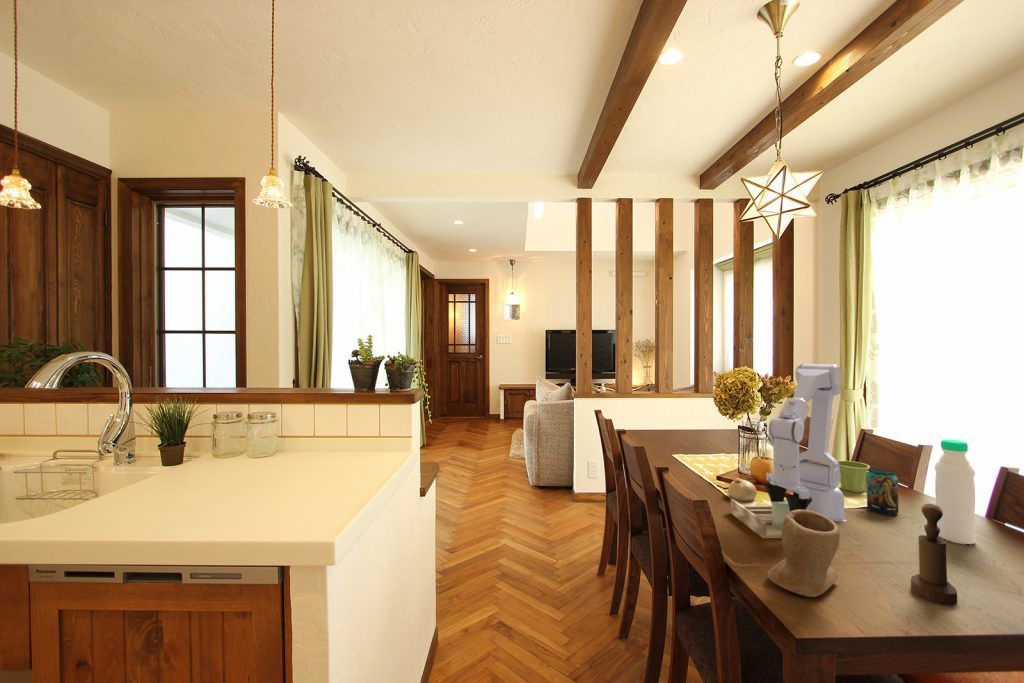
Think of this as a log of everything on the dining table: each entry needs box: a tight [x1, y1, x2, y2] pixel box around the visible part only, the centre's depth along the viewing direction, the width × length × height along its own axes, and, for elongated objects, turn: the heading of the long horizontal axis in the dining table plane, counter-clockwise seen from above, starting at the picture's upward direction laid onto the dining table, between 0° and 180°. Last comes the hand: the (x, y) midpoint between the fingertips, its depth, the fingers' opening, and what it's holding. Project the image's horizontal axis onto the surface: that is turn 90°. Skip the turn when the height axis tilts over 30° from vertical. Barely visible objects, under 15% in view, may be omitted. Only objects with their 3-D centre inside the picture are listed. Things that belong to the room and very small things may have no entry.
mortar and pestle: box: [910, 503, 958, 606], centre depth 84 cm, size 7×6×18 cm
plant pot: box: [837, 460, 871, 493], centre depth 145 cm, size 9×9×9 cm
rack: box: [730, 498, 787, 539], centre depth 117 cm, size 16×16×5 cm
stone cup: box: [767, 510, 841, 598], centre depth 89 cm, size 15×12×15 cm
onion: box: [727, 477, 758, 502], centre depth 137 cm, size 8×8×7 cm
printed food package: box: [866, 467, 899, 516], centre depth 126 cm, size 7×7×12 cm
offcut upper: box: [755, 514, 772, 521], centre depth 117 cm, size 4×10×1 cm, turn 86°
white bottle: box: [934, 439, 977, 545], centre depth 108 cm, size 7×7×25 cm
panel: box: [771, 502, 790, 526], centre depth 111 cm, size 1×7×8 cm, turn 90°
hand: (786, 516), depth 111 cm, fingers open, 7 cm apart
